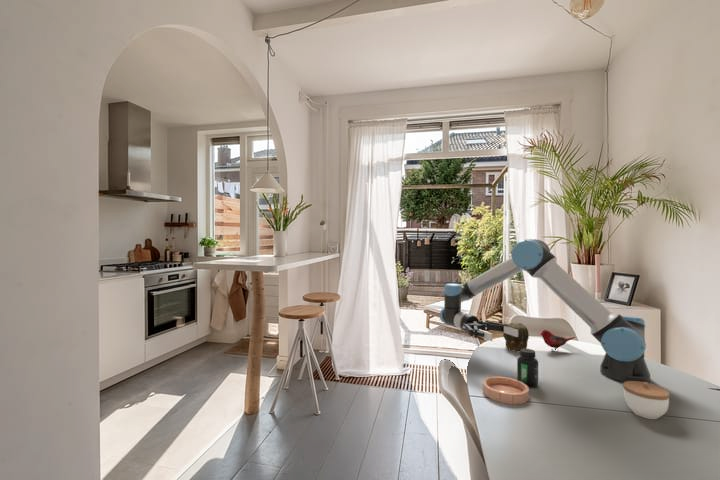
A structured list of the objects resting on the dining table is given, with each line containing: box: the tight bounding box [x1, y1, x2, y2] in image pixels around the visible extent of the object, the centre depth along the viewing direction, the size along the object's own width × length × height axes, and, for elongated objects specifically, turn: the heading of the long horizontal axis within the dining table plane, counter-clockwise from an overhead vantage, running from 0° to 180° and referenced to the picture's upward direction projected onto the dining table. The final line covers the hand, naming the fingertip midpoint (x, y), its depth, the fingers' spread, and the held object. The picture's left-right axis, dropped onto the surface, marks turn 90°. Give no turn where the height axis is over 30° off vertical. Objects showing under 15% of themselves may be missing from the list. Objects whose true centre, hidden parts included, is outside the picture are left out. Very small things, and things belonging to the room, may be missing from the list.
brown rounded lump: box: [502, 322, 530, 352], centre depth 163 cm, size 11×11×12 cm
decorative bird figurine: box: [540, 329, 576, 350], centre depth 160 cm, size 3×18×10 cm, turn 96°
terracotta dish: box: [482, 376, 530, 405], centre depth 115 cm, size 14×14×3 cm
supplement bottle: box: [516, 348, 539, 389], centre depth 123 cm, size 7×7×12 cm
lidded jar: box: [622, 381, 671, 420], centre depth 102 cm, size 11×11×9 cm
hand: (505, 335), depth 132 cm, fingers open, 13 cm apart
